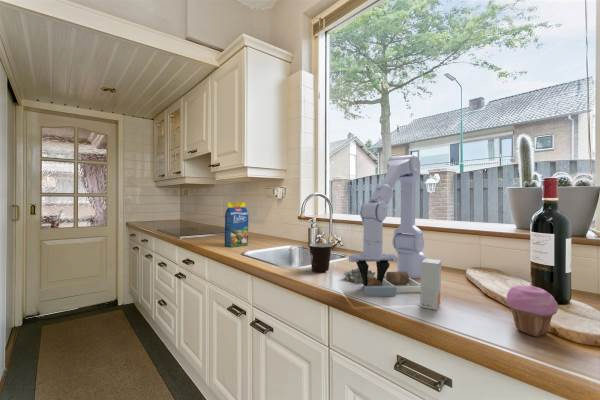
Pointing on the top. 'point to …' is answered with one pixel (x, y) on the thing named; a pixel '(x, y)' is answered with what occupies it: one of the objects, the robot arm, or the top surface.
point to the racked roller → (397, 277)
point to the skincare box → (430, 283)
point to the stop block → (379, 291)
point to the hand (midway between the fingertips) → (372, 284)
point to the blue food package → (236, 225)
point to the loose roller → (373, 281)
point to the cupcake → (531, 309)
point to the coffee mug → (320, 257)
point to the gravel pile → (355, 275)
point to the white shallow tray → (404, 286)
